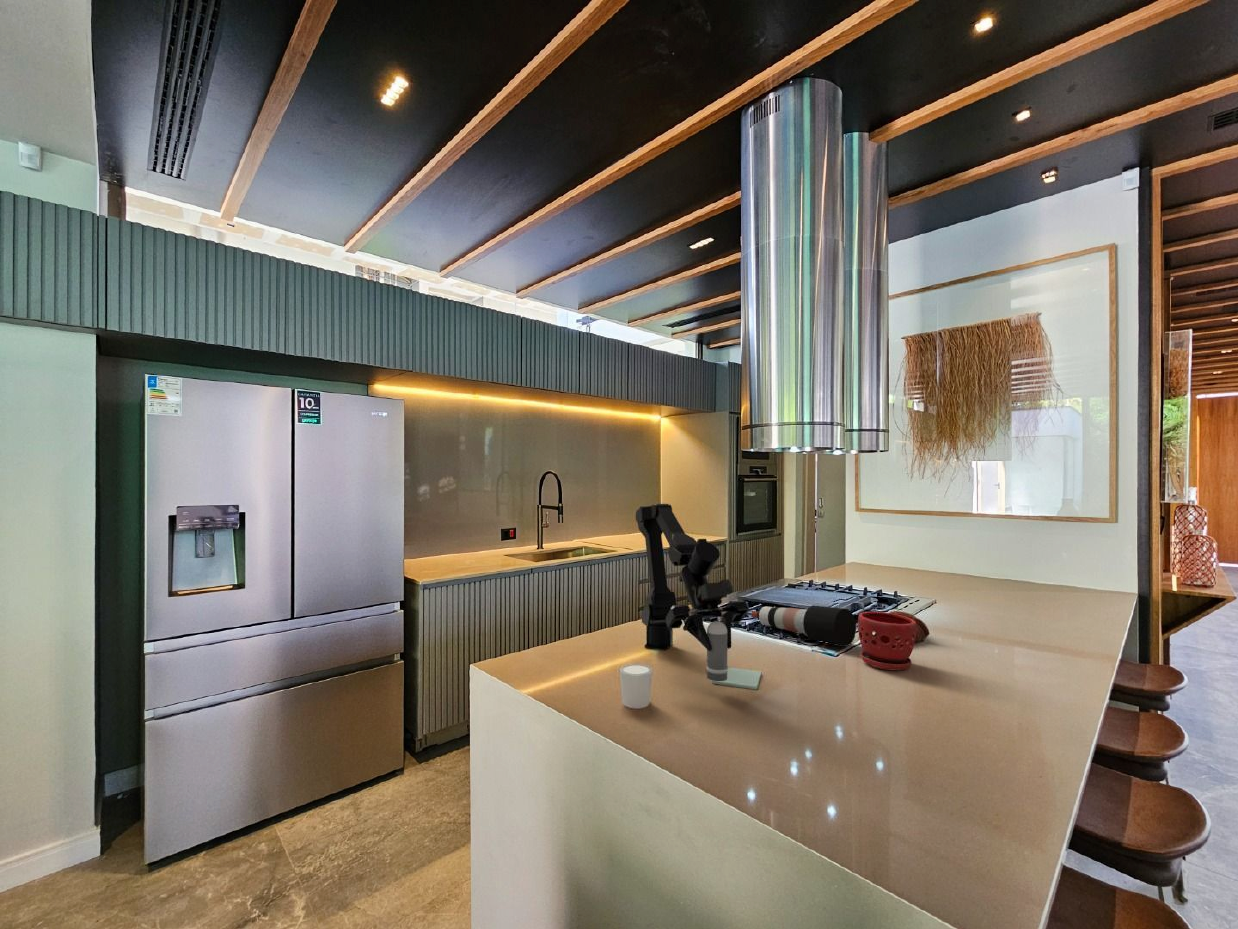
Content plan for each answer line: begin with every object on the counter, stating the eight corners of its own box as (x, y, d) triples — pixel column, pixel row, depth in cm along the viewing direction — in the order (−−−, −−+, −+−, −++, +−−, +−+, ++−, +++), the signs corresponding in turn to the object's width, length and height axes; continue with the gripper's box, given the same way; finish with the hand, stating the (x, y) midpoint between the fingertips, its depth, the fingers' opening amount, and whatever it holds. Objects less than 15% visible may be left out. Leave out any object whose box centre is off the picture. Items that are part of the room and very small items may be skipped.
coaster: (712, 683, 124) (712, 680, 124) (719, 668, 134) (719, 666, 134) (756, 689, 121) (756, 686, 121) (761, 674, 130) (761, 671, 130)
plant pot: (903, 678, 128) (903, 627, 128) (849, 663, 138) (848, 616, 138) (924, 665, 136) (924, 617, 137) (872, 652, 146) (871, 607, 146)
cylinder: (704, 679, 117) (704, 623, 118) (708, 672, 122) (708, 617, 122) (726, 682, 116) (726, 625, 116) (729, 675, 120) (729, 619, 120)
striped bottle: (759, 634, 178) (766, 604, 181) (852, 651, 150) (858, 615, 153) (738, 624, 173) (746, 594, 177) (831, 639, 146) (838, 603, 149)
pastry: (861, 631, 167) (860, 605, 167) (907, 629, 169) (907, 603, 169) (894, 648, 150) (894, 619, 151) (946, 646, 152) (945, 618, 152)
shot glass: (656, 698, 116) (656, 665, 116) (647, 712, 109) (647, 676, 109) (625, 694, 118) (625, 662, 118) (615, 707, 112) (615, 672, 112)
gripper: (670, 569, 120) (692, 634, 109) (745, 565, 126) (772, 626, 115) (657, 597, 127) (676, 660, 117) (728, 592, 133) (752, 651, 123)
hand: (720, 649), depth 118 cm, fingers closed on cylinder, 4 cm apart
